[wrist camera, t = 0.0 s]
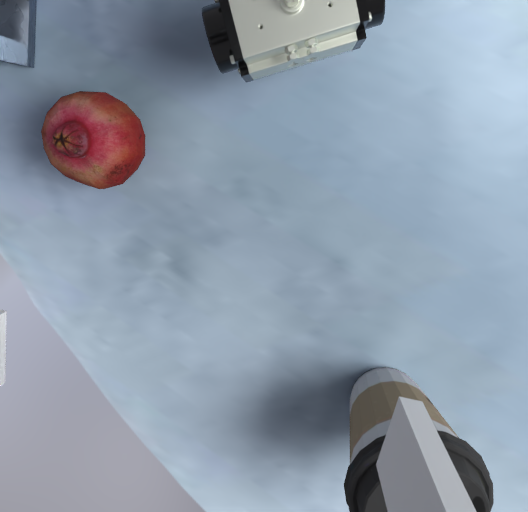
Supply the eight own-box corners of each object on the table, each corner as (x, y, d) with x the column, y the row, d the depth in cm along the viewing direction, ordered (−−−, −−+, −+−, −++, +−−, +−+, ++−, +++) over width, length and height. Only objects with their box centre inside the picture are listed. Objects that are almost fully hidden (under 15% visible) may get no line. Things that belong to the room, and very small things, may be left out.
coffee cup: (447, 427, 45) (519, 561, 30) (347, 449, 47) (370, 586, 32) (424, 336, 42) (490, 437, 28) (318, 364, 44) (329, 471, 30)
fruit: (106, 76, 38) (40, 54, 28) (174, 135, 39) (134, 132, 29) (61, 146, 40) (-14, 147, 30) (127, 199, 41) (75, 217, 31)
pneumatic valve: (222, 34, 36) (187, -17, 24) (353, -8, 34) (382, -84, 23) (239, 99, 37) (214, 79, 26) (366, 61, 36) (400, 21, 24)
